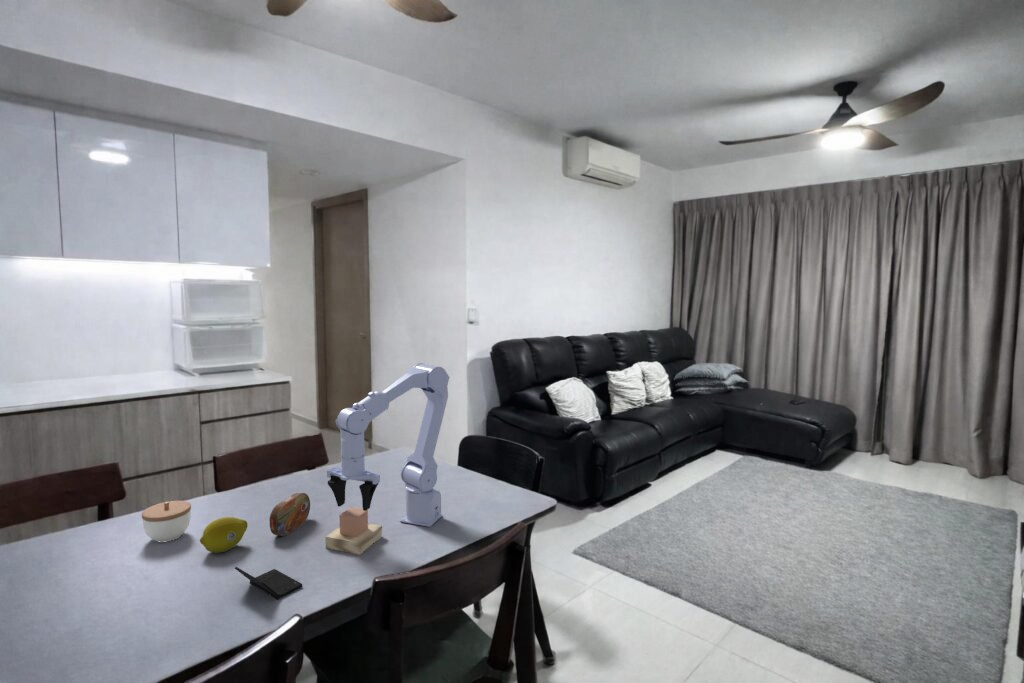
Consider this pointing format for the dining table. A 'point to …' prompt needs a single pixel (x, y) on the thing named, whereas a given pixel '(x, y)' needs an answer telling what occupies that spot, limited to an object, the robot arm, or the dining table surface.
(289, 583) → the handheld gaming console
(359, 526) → the terracotta cube
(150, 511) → the lidded jar
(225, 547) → the lemon
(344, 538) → the birch block
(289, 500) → the tin
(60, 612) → the dining table surface
